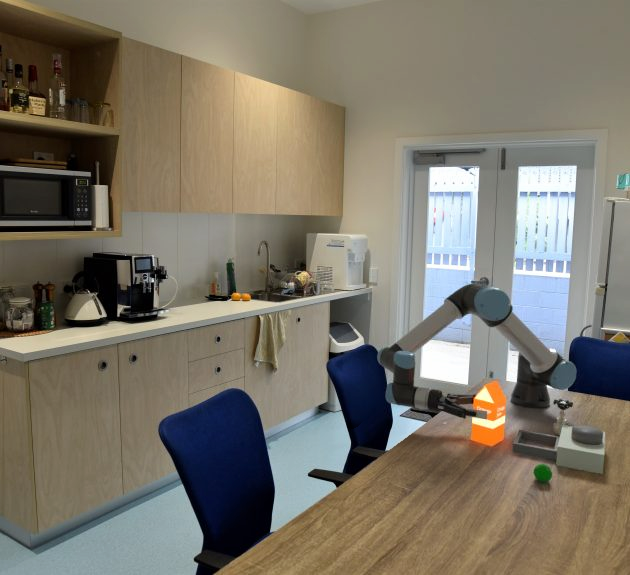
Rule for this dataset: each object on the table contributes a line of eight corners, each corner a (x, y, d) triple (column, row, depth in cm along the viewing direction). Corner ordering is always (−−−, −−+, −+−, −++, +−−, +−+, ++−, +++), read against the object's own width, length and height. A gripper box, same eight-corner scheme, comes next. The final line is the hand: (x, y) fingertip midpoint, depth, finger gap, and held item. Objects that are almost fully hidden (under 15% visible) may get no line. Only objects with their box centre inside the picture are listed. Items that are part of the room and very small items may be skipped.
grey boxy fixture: (520, 434, 210) (521, 409, 209) (603, 449, 198) (605, 423, 197) (510, 456, 190) (512, 429, 189) (602, 474, 179) (605, 445, 177)
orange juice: (503, 439, 204) (507, 382, 202) (491, 446, 198) (495, 387, 196) (482, 433, 210) (486, 377, 207) (470, 439, 203) (474, 382, 201)
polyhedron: (537, 475, 176) (539, 460, 176) (554, 481, 173) (555, 465, 172) (530, 480, 173) (531, 464, 172) (546, 486, 169) (547, 470, 169)
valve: (567, 432, 213) (570, 399, 212) (573, 439, 207) (576, 405, 205) (548, 431, 214) (550, 398, 212) (553, 437, 207) (556, 404, 206)
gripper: (438, 400, 223) (496, 409, 214) (418, 420, 201) (483, 431, 191) (439, 380, 222) (497, 389, 213) (419, 398, 200) (484, 409, 190)
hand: (491, 409), depth 202 cm, fingers open, 13 cm apart
